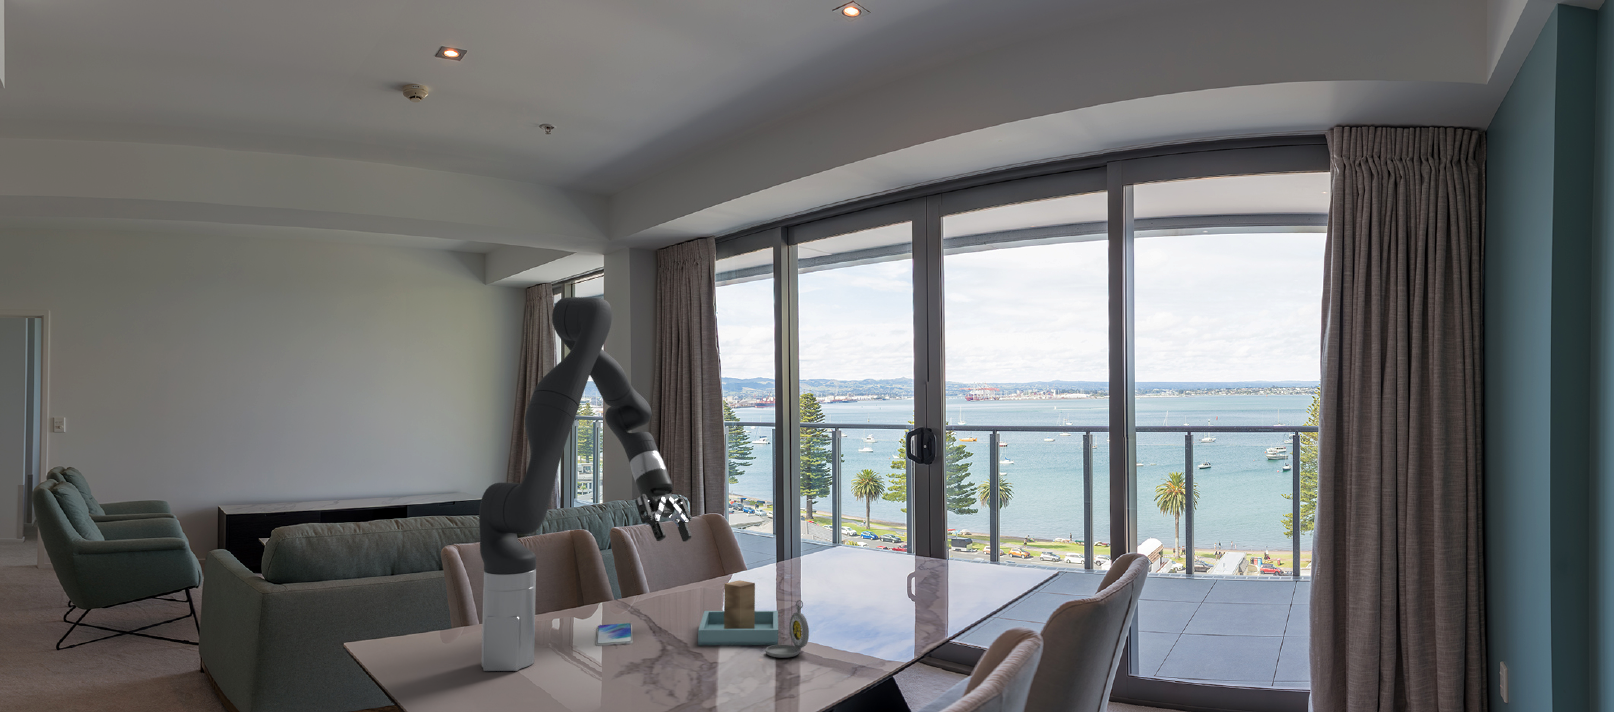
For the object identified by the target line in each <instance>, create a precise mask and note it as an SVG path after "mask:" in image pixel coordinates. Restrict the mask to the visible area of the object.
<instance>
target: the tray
mask: <svg viewBox="0 0 1614 712" xmlns="http://www.w3.org/2000/svg"><path fill="white" fill-rule="evenodd" d="M697 636H698V637H697V646H773V645H779V610H755V629H724V610H704V611H703V614H702V618H701V621H700V623H699V627H698V631H697Z"/></svg>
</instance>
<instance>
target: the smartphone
mask: <svg viewBox="0 0 1614 712" xmlns="http://www.w3.org/2000/svg"><path fill="white" fill-rule="evenodd" d="M632 644H633V626H632V623H631V622H624V623H610V624H599V625H597V631H596V640H595V645H596V646H598V647H599V646H600V647H601V646H602V647H604V646H606V647H607V646H613V645H615V646H621V645H624V646H626V645H632Z"/></svg>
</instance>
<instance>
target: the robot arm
mask: <svg viewBox="0 0 1614 712" xmlns="http://www.w3.org/2000/svg"><path fill="white" fill-rule="evenodd" d="M551 318H552V319H551V321H552V325H553V329H554V331H555V333H556V334H557V336H558V337H559V339H560V340H561V342H563V344H564V345H565V346H566V347H567V348H568V350H569V352H568V354H567V355H566V356H565V357H564V358H563V359H562V360H561V361H560V362H558V364H556V365H555V366H554V367H553V368H552V369H551V370H550V371H549V372H547V373H546V374H545V375H543V377H542V378H541V380H539V382H538V383H537V385H536V386H535V388H534V391H533V392H532V395H531V398H530V400H529V402H528V406H527V408H526V412H525V415H524V427H525V432H526V436H527V441H528V445H529V453H530V457H529V462H528V465H527V469H526V471H525V472H526V473H525V474H524V478H523V480H522V481H521V482H520V483H518V482H495V483H493V484H491V485H489V486H488V487H487V488H486V489H485V491H484V492H483V495H482V497H481V500H480V504H479V512H478V514H479V515H478V519H479V520H478V522H479V525H478V526H479V529H478V530H479V551H480V556H481V559H482V562H483V591H482V592H483V593H482V596H483V597H482V624H481V625H482V628H481V634H482V635H481V667H482V668H483V670H482V671H483V672H496V671H497V672H500V671H501V672H502V671H503V672H509V671H510V672H511V671H513V672H514V671H515V672H517V671H519V670H520V669H523V668H527V667H530V666H531V665H533V663H534V662H535V634H536V633H535V632H536V630H535V629H536V628H535V627H536V625H535V623H536V591H537V589H536V587H537V586H536V583H537V581H536V579H537V555H536V553H534V551H532V550H531V549H529V548H527V547H526V546H524V545H523V544H522V542H521V541H520V540H519V538H518V534H519V535H529V534H533V533H535V532H536V531H538V530H539V528H540V527H541V526H542V524H543V523H544V520H545V518H546V516H547V513H548V510H549V506H550V502H551V499H552V494H553V491H554V486H555V483H556V478H557V472H558V469H559V466H560V463H561V459H562V456H563V453H564V449H565V447H566V444H567V440H568V438H569V436H570V435H569V434H570V432H571V430H572V426H573V425H574V422H575V420H576V416H577V413H578V410H579V408H580V404H581V401H582V399H583V394H584V392H585V388H586V386H587V383H588V381H589V378H590V377H591V380H592V381H593V383H594V384H595V387H596V389H597V390H598V393H599V394H600V397H601V398H602V400H603V401H604V403H605V404H606V405H607V406H609V407H608V408H607V409H606V411H605V415H604V416H605V422H606V425H607V426H608V428H609V429H610V430H611V431H612V433H613V434H614V435H615V436H616V438H617V439H618V440H619V442H620V443H621V445H622V447H623V449H624V451H625V454H626V457H627V461H628V462H629V465H630V470H631V473H632V476H633V479H634V482H635V486H636V488H637V491H638V494H639V497H637V498H636V499H635V500H634V502H635V505H636V509H637V512H638V515H639V518H640V521H641V523H642V524H647V525H648V526H649V527H650V528H651V531H652V533H653V534H652V535H653V536H654V538H655V540H656V541H657V542H662V541H663V540H664V539H665V538H666V533H665V529H664V528H663V527H664V526H663V525H662V524H663V523H662V522H661V521H660V519H661V518H662V517H663V518H667V520H668V521H670V522H673V523H674V524H675V525H676V526H677V530H678V532H679V535H680V538H681V540H682V541H681V542H683V543H684V542H688V541H689V540H690V539H692V533H691V531H690V528H689V524H688V523H689V522H691V521H692V520H693V517H692V514H691V513H690V510H689V507H688V505H687V503H686V501H685V498H684V497H683V496H680V497H679V498H675V497H674V496H673V494H672V493H673V489H674V485H673V482H672V480H671V476H670V474H669V472H668V469H667V467H666V464H665V462H664V459H663V458H662V456H661V454H660V451H659V448H658V446H657V444H656V441H655V438H654V436H653V434H651V432H648V431H637V432H630V431H632V430H636V429H637V428H641V427H642V426H645V425H647V424H648V423H650V421H651V419H652V414H653V413H652V407H651V406H650V404H649V403H648V401H647V400H646V399H645V397H643V396H642V395H641V394H640V393H639V392H638V391H637V390H636V389H635V388H634V387H633V386H632V384H631V383H630V380H629V378H628V377H627V376H628V375H627V374H626V371H625V370H624V368H623V367H622V366H621V364H620V363H619V362H618V361H617V360H616V359H615V358H614V357H613V356H611V355H610V354H609V353H608V352H606V351H605V350H604V349H602V348H603V347H604V344H605V343H606V340H607V338H608V336H609V332H610V330H611V328H612V327H611V326H612V320H613V311H612V307H611V304H610V303H609V302H608V301H607V300H606V299H603V298H602V297H589V296H588V297H586V296H585V297H583V296H581V297H580V296H579V297H578V296H568V297H563V298H560V299H559V300H557V301H556V303H555V304H554V307H553V309H552V314H551ZM645 514H646V515H645ZM684 514H685V515H684ZM678 518H679V519H678Z"/></svg>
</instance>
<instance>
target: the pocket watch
mask: <svg viewBox="0 0 1614 712" xmlns="http://www.w3.org/2000/svg"><path fill="white" fill-rule="evenodd" d="M799 602H800V603H801V605H800V604H798V603H799ZM795 605H796V607H795V608H796V611H797V612H794V613H793V614H792V615H791V616H790V620H789V635H790V639H791V641H792V643H793V645H792V644H778V645H768V646H767V647H765V653H766V655H768V656H770V657H773V658H779V659H780V658H792V657H796V656H797V655H799V654H800V651H801V649H802V648H804V647H805V646H807V644H808V642H809V636H810V630H809V624H808V620H807V618H806V616H805V615H804V614H803V613H801V610H802V608H803V607H804V603H803V600H801V599H798V600H797V601H796V603H795Z"/></svg>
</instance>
